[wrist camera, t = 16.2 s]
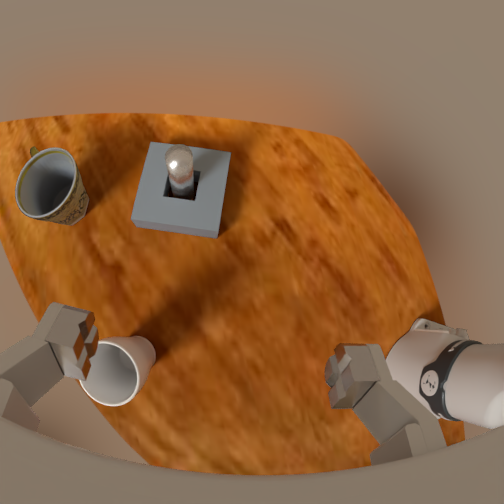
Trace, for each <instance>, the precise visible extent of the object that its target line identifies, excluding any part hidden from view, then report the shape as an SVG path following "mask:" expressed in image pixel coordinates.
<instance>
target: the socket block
mask: <svg viewBox="0 0 504 504" xmlns="http://www.w3.org/2000/svg"><path fill="white" fill-rule="evenodd" d="M173 145H174V144H165V143H156V142H151V143H150V147H149V150H148V154H147V157H146V161H145V164H144V168H143V172H142V175H141V179H140V183H139V187H138V191H137V195H136V199H135V203H134V208H133V212H132V216H131V220H132V221H133V222H134V224H135V225H136V226H137V227H141V228H148V229H155V230H162V231H169V232H176V233H183V234H190V235H196V236H203V237H210V238H217V236H218V231H219V225H220V218H221V212H222V205H223V199H224V193H225V186H226V180H227V174H228V168H229V162H230V156H231V152H225V151H219V150H212V149H205V148H198V147H190V146H188V147H189V148H190V149H191V151H192V154H193V176H194V182H199V183H198V188H197V193H196V199H195V201H192V200H185V199H178V198H171V197H168V194H169V189H170V185H171V184H170V180H169V175H168V171H167V166H166V161H165V154H166V151H167V150H168V149H169V148H170V147H171V146H173Z"/></svg>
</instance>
